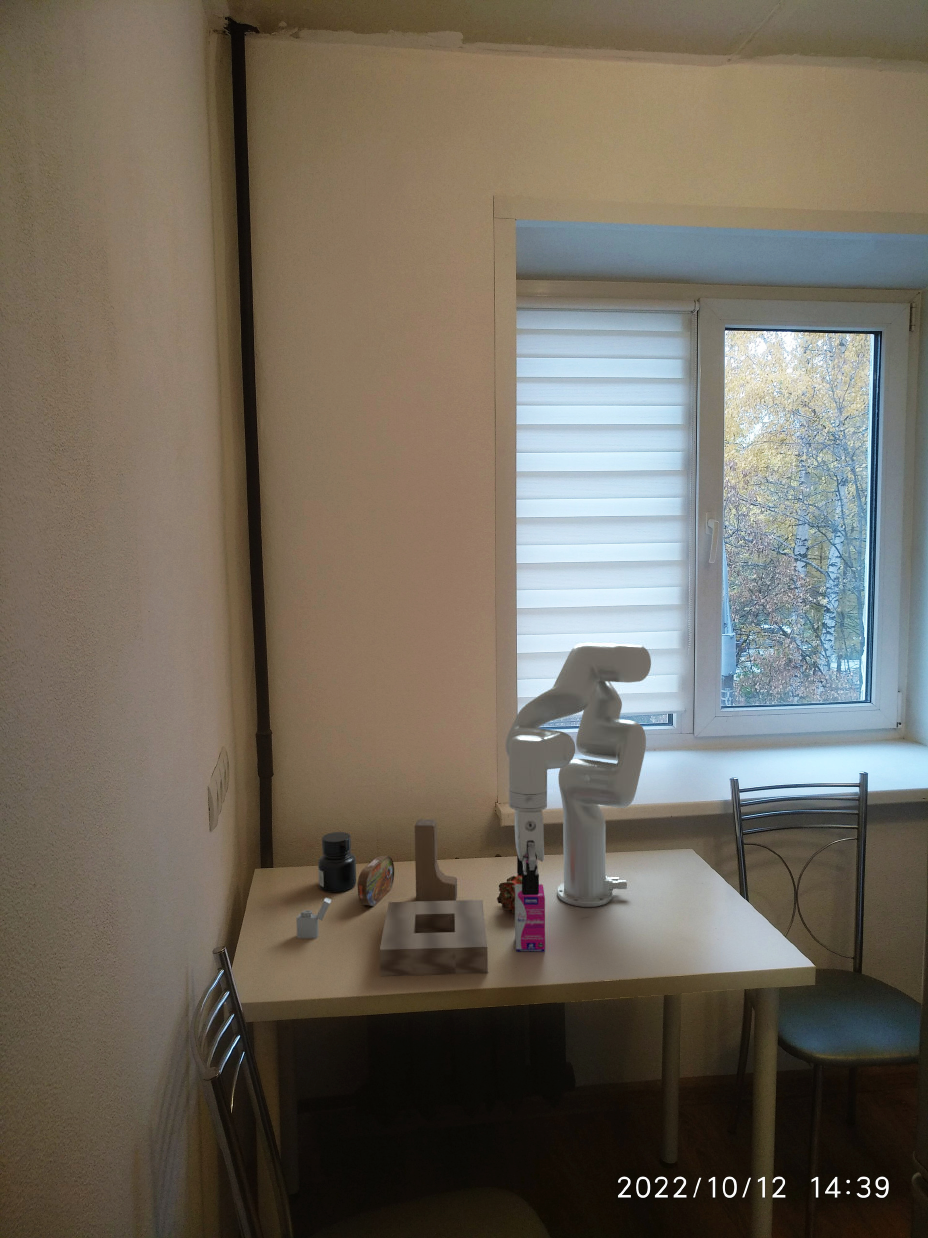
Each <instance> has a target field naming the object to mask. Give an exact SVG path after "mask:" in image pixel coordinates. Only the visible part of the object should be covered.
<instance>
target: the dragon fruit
mask: <svg viewBox="0 0 928 1238" xmlns="http://www.w3.org/2000/svg"><path fill="white" fill-rule="evenodd" d="M515 884H522V876H519V875H518V874H517V875H512V876H510V877H509V878H507V879H506V881H505V882H501V883H499V884H498V888H499V889H498V891H499V893H498V896H497V898H496V901H497V903H498V904H501V907H502V909H503V910H508V911H509V913H512V914H514V915H515Z"/></svg>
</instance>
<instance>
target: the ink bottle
mask: <svg viewBox="0 0 928 1238" xmlns="http://www.w3.org/2000/svg"><path fill="white" fill-rule="evenodd" d="M351 839H352V837H351V834H350V833H348V832H345V831H334V832H330V833H326V834H324V835H323V836H322V837H321V846H322V847H321V848H322V855H321V856H320V858H319V859H318V864H317V867H318V869H317V870H318V887H319V889H320V890H322V891H323V892H327V893H343V892H346V891H348V890H351V889H352V888H354V887H355V886H356V885H357V864H356V863H357V861H356V856H355V855H354V853H352V852H351V851H352V840H351Z"/></svg>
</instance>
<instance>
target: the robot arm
mask: <svg viewBox="0 0 928 1238" xmlns="http://www.w3.org/2000/svg"><path fill="white" fill-rule="evenodd" d="M651 658H652V657H651V655H650V653H649V650H648V649H647V648H646V647H645V646H643V645H638V644H637V645H636V644H619V643H618V644H617V643H600V642H599V643H597V642H596V643H595V642H593V643H592V642H586V643H585V642H584V643H583V642H582V643H579V644H576V645H575V646H574V647H572V648H571V650H570V652H569V653H568V656H567V658H566V660H565V662H564V664H563V666H562V668H561V670H560V672H559V674H558V676H557V678H556V679H555V681H554V684H553V686H552V688H550V689H548V690H547V691H545V692H543V693H541V694H539V695H538V696H537V697H536V696H535V698H533V699H532V700H531V701H529V702H528V703H527V704H525V705H524V706H523V707H521V709H520V710H519V711H518V713H517V714H516V716H515V719H514V720H513V723H512V724H511V726H510V727H509V731H508V733H507V736H506V738H505V739H506V740H505V751H506V755H507V756H508V807H509V808H510V809H512V810H514V839H515V840H514V841H515V849H516V853H517V856H516V860H517V861H516V865H517V866H516V874H517V875H519V876H522V894H523V895H538V894H539V884H540V873H539V867H538V866H539V864H538V861H540V862H543V861H544V860H545V847H544V846H545V839H544V838H545V837H544V815H543V810H546V809H547V808H548V770H555V769H559V771H558V779H557V780H558V787H559V791H560V792H559V793H560V798H561V805H562V823H563V824H562V825H563V829H562V830H563V831H562V833H563V840H562V841H563V882H562V883H560V884H559V885H558V886H557V889H556V894H557V897H558V899H560V900H561V901H562V902H564V903H566V904H569V905H572V906H576V907H583V908H593V907H595V908H596V907H600V906H604V905H606V904H608V903H609V902H611V901H612V899H613V896H614V895H613V891H614V890H627V889H628V884H627V880H625V879H624V880H620V879H619V878H620V877H618V876H617V877H615V876H614V877H613V876H612V877H609V876H607V874H606V870H607V869H606V868H607V867H606V864H607V863H606V859H607V857H606V856H607V855H606V819H605V816H604V814H603V810H602V809H601V807H600V806H606V807H611V808H618V809H619V808H621V809H622V808H627V807H629V806H631V804H632V803H633V802H634V799H635V796H636V794H637V789H638V785H639V779H640V775H641V771H642V766H643V763H644V758H645V753H646V746H647V737H646V732H645V729H644V727H643V726H642V725H641V724H640V723H639V722H637V721H634V720H629V719H620V716H621V712H622V708H623V702H622V699H621V697H620V695H619V693H618V691H617V690H616V688H615V687H614V686H613V684H612V683H638V682H642V681H644V680H645V679H646V678H647V677H648V676H649V673H650V671H651V669H652V668H651V667H652V660H651ZM611 682H612V683H611ZM581 712H583V713H582V715H581V719H580V723H579V726H578V730H577V733H576V739H575V741H574V739H573V737H572V736H571V735H570V734H568V733H566V732H564V731H561V730H552V729H545V728H540V727H542V726H543V725H545V724H547V723H551V721H555V720H559V719H563V718H567V717H570V716H574V715H576V714H579V713H581ZM576 749H577V751H578V752H579V753H580V754H582V755H583V756H585V757H589V758H595V759H601V760H608V761H609V762H608V761H607V762H606V761H601V760H595V759H587V758H574V756H575V754H576ZM610 761H615V762H616V763H615V762H610Z"/></svg>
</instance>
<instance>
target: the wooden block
mask: <svg viewBox="0 0 928 1238" xmlns="http://www.w3.org/2000/svg"><path fill="white" fill-rule="evenodd" d="M437 827H438V825H437V819H417V820H416V823H415V825H414V854H415V855H414V859H415V861H414V863H415V865H414V867H415V902H417V901H457V898H458V878H457V877H456V876H451V875H446V874H445V873H444V872H443V871H442V870H441V869H440V866H439V863H438V845H437V844H438V843H437V842H438V837H437V835H438V832H437V831H438V830H437V829H438V828H437Z"/></svg>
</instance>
